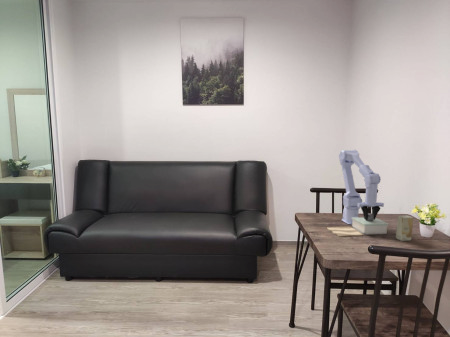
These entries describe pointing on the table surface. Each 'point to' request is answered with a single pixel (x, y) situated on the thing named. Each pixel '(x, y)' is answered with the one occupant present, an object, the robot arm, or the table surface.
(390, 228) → the table surface
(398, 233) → the skincare box
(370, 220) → the lid
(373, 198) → the robot arm
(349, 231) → the birch board
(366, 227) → the storage box
